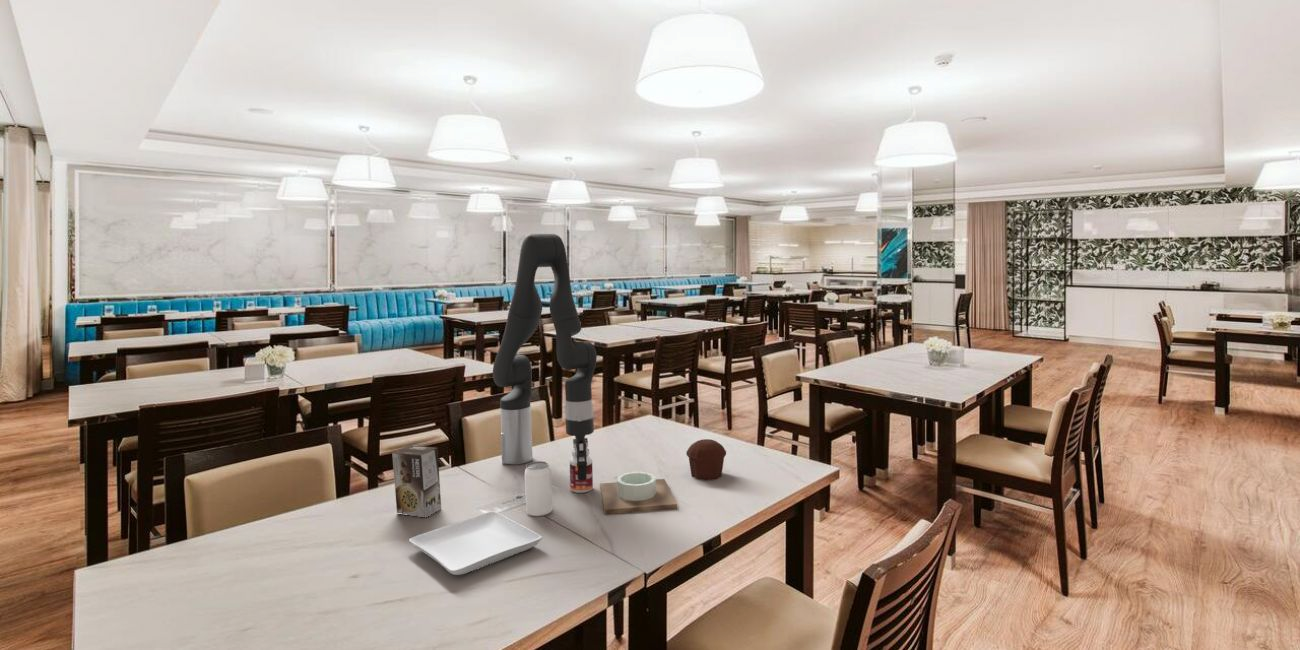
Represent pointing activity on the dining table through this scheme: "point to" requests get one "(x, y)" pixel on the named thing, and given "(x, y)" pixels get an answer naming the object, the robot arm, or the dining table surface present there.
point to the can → (538, 489)
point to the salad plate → (475, 542)
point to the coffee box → (417, 480)
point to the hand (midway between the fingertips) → (581, 474)
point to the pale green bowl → (636, 486)
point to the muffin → (706, 459)
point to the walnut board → (620, 505)
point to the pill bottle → (575, 483)
